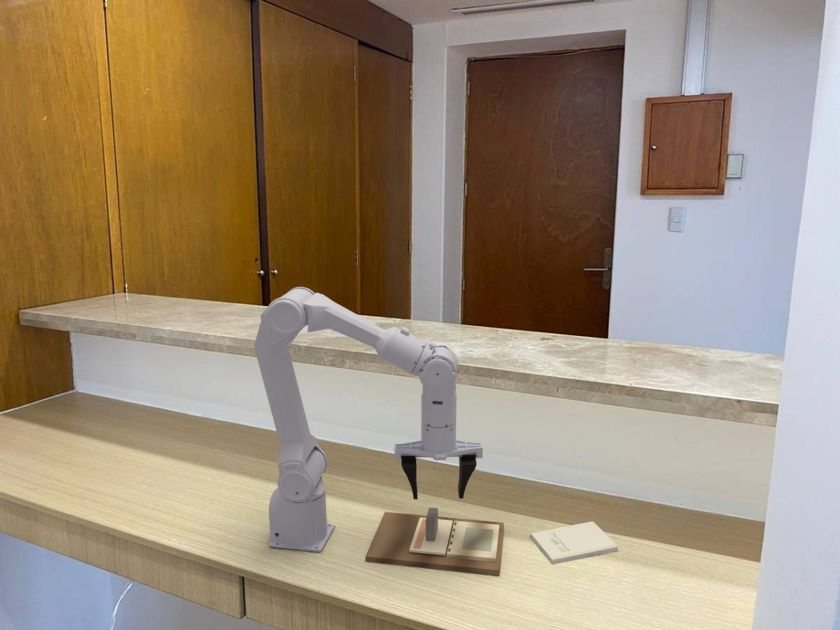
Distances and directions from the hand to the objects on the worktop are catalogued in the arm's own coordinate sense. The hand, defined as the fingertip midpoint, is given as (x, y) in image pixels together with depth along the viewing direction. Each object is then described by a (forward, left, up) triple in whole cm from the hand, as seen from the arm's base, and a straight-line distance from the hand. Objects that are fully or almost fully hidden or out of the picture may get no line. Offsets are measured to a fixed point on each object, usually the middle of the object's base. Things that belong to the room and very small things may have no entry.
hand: (438, 496), depth 107 cm
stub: (-1, +1, -8) cm, 8 cm away
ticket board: (0, +1, -9) cm, 9 cm away
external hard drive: (+23, +4, -10) cm, 25 cm away
